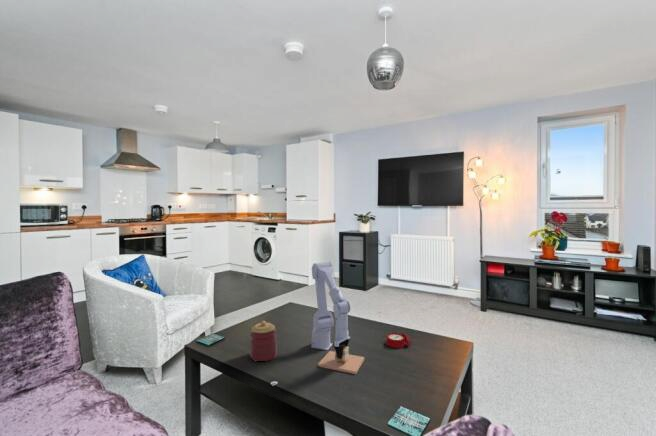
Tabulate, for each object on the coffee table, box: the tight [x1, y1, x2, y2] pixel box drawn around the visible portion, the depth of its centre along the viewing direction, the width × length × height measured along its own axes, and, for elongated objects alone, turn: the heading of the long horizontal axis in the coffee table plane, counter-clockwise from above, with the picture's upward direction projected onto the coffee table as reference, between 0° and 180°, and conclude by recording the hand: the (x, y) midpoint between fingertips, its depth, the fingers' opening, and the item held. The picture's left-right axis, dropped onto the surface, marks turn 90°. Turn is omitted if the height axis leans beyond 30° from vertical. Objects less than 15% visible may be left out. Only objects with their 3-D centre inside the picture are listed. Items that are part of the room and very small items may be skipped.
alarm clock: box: [382, 332, 414, 349], centre depth 166 cm, size 10×6×15 cm
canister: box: [249, 320, 278, 362], centre depth 153 cm, size 13×13×18 cm
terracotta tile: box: [317, 350, 365, 375], centre depth 146 cm, size 18×14×1 cm
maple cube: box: [334, 346, 350, 362], centre depth 146 cm, size 5×5×5 cm
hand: (341, 355), depth 146 cm, fingers closed on maple cube, 5 cm apart
